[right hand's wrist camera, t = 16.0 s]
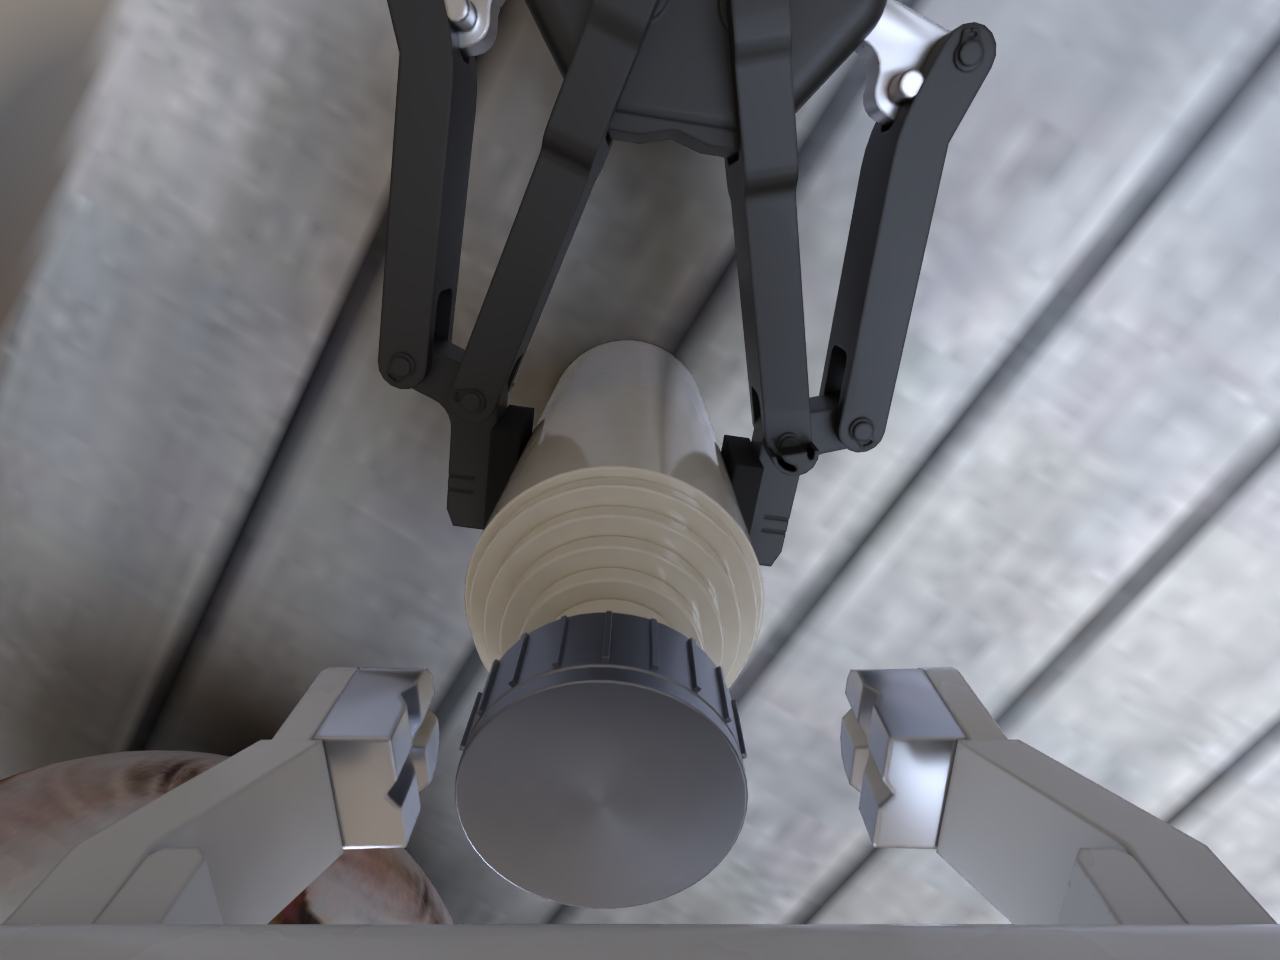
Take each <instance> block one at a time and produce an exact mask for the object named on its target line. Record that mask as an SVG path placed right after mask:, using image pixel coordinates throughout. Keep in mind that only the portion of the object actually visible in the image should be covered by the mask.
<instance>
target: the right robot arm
mask: <svg viewBox="0 0 1280 960" xmlns="http://www.w3.org/2000/svg"><path fill="white" fill-rule="evenodd" d="M434 694H435V691H434V685H433V678H432V674H431V673H430V671H429V670H428V669H412V668H365V667H363V668H358V667H329V668H327V669H324V670H322V671H321V672H320V673H319V674H318V676H317V677H316V679H315V680H314V681H313V683H312V684H311V686H310V687H309V688H308V690H307V691H306V693H305V694H304V695H303V697H302V698H301V700H300V701H299V702H298V704H297V705H296V706H295V708H294V709H293V711H292V712H291V713H290V715H289V716H288V718H287V719H286V720H285V722H284V723H283V725H282V726H281V727H280V729H279V730H278V731H277V733H276V734H275V736H274V737H273V738H272V740H260V741H258V742H256V743H254V744H253V745H251V746H249V747H247V748H245V749H244V750H242V751H240V752H238V753H237V754H235V755H233V756H231V757H229V758H228V759H226V760H224V761H222V762H221V763H219V764H217V765H215V766H213V767H212V768H210V769H208V770H206V771H205V772H203V773H201V774H199V775H197V776H196V777H194V778H192V779H190V780H189V781H187V782H185V783H183V784H182V785H180V786H178V787H176V788H174V789H173V790H171V791H169V792H167V793H166V794H164V795H162V796H160V797H158V798H157V799H155V800H153V801H151V802H150V803H148V804H146V805H144V806H142V807H141V808H139V809H137V810H135V811H134V812H132V813H130V814H128V815H126V816H125V817H123V818H121V819H119V820H118V821H116V822H114V823H112V824H110V825H109V826H107V827H105V828H103V829H102V830H100V831H98V832H96V833H94V834H93V835H91V836H89V837H87V838H86V839H84V840H82V841H80V842H78V843H77V844H75V845H74V846H73V847H72V848H71V849H70V850H69V852H68V853H67V854H66V855H65V856H64V857H63V858H62V859H61V860H60V861H59V863H58V864H57V865H56V866H55V867H54V868H53V869H52V870H51V871H50V872H49V873H48V875H47V876H46V877H45V878H44V879H43V880H42V881H41V882H40V883H39V884H38V886H37V887H36V888H35V889H34V890H33V891H32V892H31V893H30V894H29V895H28V896H27V898H26V899H25V900H24V901H23V902H22V903H21V904H20V905H19V906H18V907H17V909H16V910H15V911H14V912H13V913H12V914H11V915H10V916H9V917H8V918H7V919H6V921H5V922H4V923H3V924H0V960H1280V924H1277V923H1276V922H1275V921H1274V919H1273V918H1272V917H1271V916H1270V915H1269V914H1268V913H1267V912H1266V911H1265V910H1264V908H1263V907H1262V906H1261V905H1260V904H1259V903H1258V902H1257V901H1256V900H1255V898H1254V897H1253V896H1252V895H1251V894H1250V893H1249V892H1248V891H1247V890H1246V889H1245V887H1244V886H1243V885H1242V884H1241V883H1240V882H1239V881H1238V880H1237V879H1236V878H1235V876H1234V875H1233V874H1232V873H1231V872H1230V871H1229V870H1228V869H1227V868H1226V867H1225V865H1224V864H1223V863H1222V862H1221V861H1220V860H1219V859H1218V858H1217V857H1216V856H1215V854H1214V853H1213V852H1212V851H1211V850H1210V849H1209V848H1208V847H1207V846H1206V845H1204V844H1203V843H1201V842H1199V841H1197V840H1196V839H1194V838H1192V837H1190V836H1189V835H1187V834H1185V833H1183V832H1181V831H1180V830H1178V829H1176V828H1174V827H1173V826H1171V825H1169V824H1167V823H1166V822H1164V821H1162V820H1160V819H1158V818H1157V817H1155V816H1153V815H1151V814H1150V813H1148V812H1146V811H1144V810H1143V809H1141V808H1139V807H1137V806H1135V805H1134V804H1132V803H1130V802H1128V801H1127V800H1125V799H1123V798H1121V797H1119V796H1118V795H1116V794H1114V793H1112V792H1111V791H1109V790H1107V789H1105V788H1104V787H1102V786H1100V785H1098V784H1096V783H1095V782H1093V781H1091V780H1089V779H1088V778H1086V777H1084V776H1082V775H1081V774H1079V773H1077V772H1075V771H1073V770H1072V769H1070V768H1068V767H1066V766H1065V765H1063V764H1061V763H1059V762H1058V761H1056V760H1054V759H1052V758H1050V757H1049V756H1047V755H1045V754H1043V753H1042V752H1040V751H1038V750H1036V749H1035V748H1033V747H1031V746H1029V745H1027V744H1026V743H1024V742H1022V741H1020V740H1008V738H1007V737H1006V736H1005V734H1004V733H1003V732H1002V730H1001V729H1000V727H999V726H998V725H997V723H996V722H995V721H994V719H993V718H992V716H991V715H990V714H989V712H988V711H987V710H986V708H985V707H984V705H983V704H982V703H981V701H980V700H979V698H978V697H977V696H976V694H975V693H974V692H973V690H972V689H971V687H970V686H969V685H968V683H967V682H966V681H965V679H964V678H963V676H962V675H961V674H960V672H959V671H958V670H956V669H955V668H953V667H932V668H918V669H864V670H850V672H849V675H848V678H847V683H846V691H845V694H846V696H847V698H848V701H849V703H850V706H851V709H850V710H849V711H848V712H847V714H846V715H845V716H844V717H843V718H842V726H841V752H842V759H843V764H844V768H845V772H846V775H847V778H848V780H849V783H850V785H852V786H853V787H854V788H855V789H857V790H858V791H859V792H860V793H861V796H860V804H859V810H860V813H861V815H862V818H863V820H864V823H865V826H866V828H867V831H868V834H869V836H870V839H871V841H872V844H873V847H881V848H916V849H937V851H936V852H937V853H938V854H939V855H940V856H941V857H942V858H943V859H944V860H945V861H946V862H947V863H948V864H950V865H951V866H952V867H953V868H954V869H955V870H956V871H957V872H958V873H959V874H960V875H961V876H962V877H963V878H964V879H965V880H967V881H968V882H969V883H970V884H971V885H972V886H973V887H974V888H975V889H976V890H977V891H978V892H979V893H980V894H981V895H983V896H984V897H985V898H986V899H987V900H988V901H989V902H990V903H991V904H992V905H993V906H994V907H995V908H996V909H997V910H998V911H1000V912H1001V913H1002V914H1003V915H1004V916H1005V917H1006V918H1007V919H1008V920H1009V921H1010V922H1011V923H1012V924H268V923H269V922H270V921H271V920H272V919H273V918H274V917H275V916H276V915H277V914H279V913H280V912H281V911H282V910H283V909H284V908H285V907H286V906H287V905H288V904H289V903H290V902H291V901H292V900H294V899H295V898H296V897H297V896H298V895H299V894H300V893H301V892H302V891H303V890H304V889H305V888H306V887H307V886H308V885H310V884H311V883H312V882H313V881H314V880H315V879H316V878H317V877H318V876H319V875H320V874H321V873H322V872H323V871H324V870H326V869H327V868H328V867H329V866H330V865H331V864H332V863H333V862H334V861H335V860H336V859H337V858H338V857H339V856H340V855H342V854H343V849H364V848H398V847H407V844H408V842H409V839H410V836H411V834H412V831H413V828H414V826H415V823H416V821H417V818H418V815H419V813H420V810H421V804H420V796H419V793H420V792H421V791H422V790H423V789H425V788H426V787H427V786H428V785H430V783H431V780H432V778H433V775H434V772H435V769H436V764H437V758H438V752H439V724H438V718H437V717H436V716H435V715H434V714H433V712H432V711H431V710H430V709H429V706H430V703H431V701H432V698H433V696H434Z"/></svg>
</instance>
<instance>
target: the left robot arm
mask: <svg viewBox="0 0 1280 960" xmlns="http://www.w3.org/2000/svg"><path fill="white" fill-rule="evenodd" d="M505 1H506V0H387V2H388V6H389V11H390V15H391V19H392V23H393V28H394V32H395V36H396V40H397V44H398V49H399V53H400V54H399V69H398V83H397V97H396V112H395V126H394V140H393V154H392V169H391V183H390V197H389V212H388V226H387V240H386V254H385V269H384V283H383V297H382V311H381V326H380V340H379V354H378V365H379V371H380V373H381V375H382V376H383V378H384V379H385V380H386V381H387V382H388V383H389V384H390V385H392V386H394V387H397V388H399V389H410V388H412V389H414V390H416V391H418V392H420V393H422V394H424V395H426V396H428V397H430V398H432V399H434V400H435V401H437V402H439V403H440V404H441V405H442V406H443V407H444V408H445V410H446V412H447V413H448V415H449V418H450V421H451V441H450V460H449V478H448V496H447V510H448V513H449V516H450V518H451V521H452V524H453V526H461V527H468V528H476V529H483V530H484V528H485V526H486V524H487V522H488V520H489V518H490V516H491V514H492V512H493V510H494V508H495V506H496V504H497V502H498V500H499V498H500V496H501V494H502V492H503V490H504V488H505V486H506V484H507V482H508V480H509V478H510V476H511V474H512V472H513V470H514V468H515V466H516V464H517V462H518V460H519V458H520V456H521V454H522V453H523V451H524V449H525V447H526V445H527V443H528V441H529V439H530V437H531V435H532V428H533V418H534V408H529V407H522V406H515V405H508V407H507V397H508V392H509V391H510V390H511V388H512V387H513V385H514V383H513V381H514V379H515V376H516V374H517V372H518V369H519V367H520V364H521V362H522V359H523V357H524V354H525V352H526V350H527V347H528V345H529V342H530V340H531V337H532V335H533V332H534V330H535V327H536V325H537V323H538V320H539V318H540V315H541V313H542V310H543V308H544V305H545V303H546V301H547V298H548V296H549V293H550V291H551V288H552V286H553V283H554V281H555V279H556V276H557V274H558V271H559V269H560V266H561V264H562V261H563V259H564V256H565V254H566V252H567V249H568V247H569V244H570V242H571V239H572V237H573V234H574V232H575V230H576V227H577V225H578V222H579V220H580V217H581V215H582V212H583V210H584V208H585V205H586V203H587V200H588V198H589V195H590V193H591V190H592V188H593V186H594V183H595V181H596V179H597V177H598V175H599V173H600V171H601V169H602V167H603V165H604V162H605V160H606V157H607V155H608V153H609V150H610V148H611V145H612V143H613V140H620V141H626V142H633V143H639V144H640V143H648V142H656V141H663V140H673V141H676V142H678V143H680V144H682V145H684V146H686V147H688V148H690V149H692V150H695V151H697V152H699V153H701V154H708V155H714V156H720V157H724V158H725V168H726V178H727V186H728V192H729V196H730V199H731V206H732V216H733V226H734V237H735V247H736V257H737V268H738V278H739V288H740V299H741V309H742V319H743V329H744V340H745V350H746V360H747V371H748V381H749V391H750V402H751V412H752V422H753V426H754V432H753V436H752V441H750V439H749V438H744V437H736V436H729V435H724V440H723V445H722V450H721V454H722V457H723V460H724V463H725V466H726V469H727V472H728V475H729V478H730V481H731V484H732V487H733V489H734V492H735V495H736V498H737V501H738V504H739V507H740V510H741V513H742V516H743V519H744V522H745V524H746V527H747V530H748V533H749V536H750V539H751V542H752V545H753V548H754V551H755V554H756V556H757V559H758V562H759V565H764V566H771V565H772V564H773V563H774V561H775V560H776V558H777V557H778V556H779V554H780V553H781V551H782V547H783V542H784V538H785V532H786V530H787V526H788V519H789V517H790V513H791V509H792V505H793V500H794V496H795V492H796V488H797V483H798V479H799V475H801V474H805V473H807V472H808V471H809V470H810V469H812V468H813V467H814V465H815V463H816V462H817V460H818V455H819V454H823V453H827V452H832V451H837V450H842V449H849V450H851V451H854V452H866V451H868V450H870V449H872V448H874V447H875V446H876V445H877V444H878V443H879V442H880V441H881V440H882V437H883V435H884V433H885V428H886V424H887V419H888V415H889V410H890V406H891V401H892V397H893V392H894V388H895V383H896V379H897V374H898V370H899V365H900V361H901V356H902V352H903V347H904V342H905V338H906V333H907V329H908V324H909V320H910V315H911V311H912V306H913V302H914V297H915V293H916V288H917V284H918V279H919V275H920V270H921V266H922V261H923V257H924V252H925V248H926V243H927V238H928V234H929V229H930V225H931V220H932V216H933V211H934V207H935V202H936V198H937V193H938V189H939V184H940V180H941V175H942V171H943V166H944V162H945V157H946V153H947V148H948V144H949V142H950V140H951V138H952V136H953V135H954V133H955V131H956V129H957V128H958V126H959V124H960V122H961V120H962V119H963V117H964V115H965V113H966V112H967V110H968V108H969V106H970V105H971V103H972V101H973V99H974V97H975V96H976V94H977V92H978V90H979V89H980V87H981V85H982V83H983V82H984V80H985V78H986V76H987V74H988V73H989V71H990V69H991V67H992V65H993V62H994V59H995V56H996V42H995V39H994V36H993V34H992V32H991V31H990V30H989V29H988V28H987V27H986V26H985V25H982V24H979V23H975V22H973V23H967V24H963V25H961V26H959V27H958V28H956V29H954V30H953V31H948V30H946V29H944V28H943V27H941V26H939V25H938V24H936V23H934V22H933V21H931V20H929V19H927V18H926V17H924V16H922V15H921V14H919V13H917V12H916V11H914V10H912V9H911V8H909V7H907V6H905V5H904V4H902V3H900V2H899V1H897V0H525V2H526V4H527V6H528V8H529V10H530V12H531V14H532V16H533V18H534V20H535V22H536V24H537V26H538V28H539V30H540V32H541V34H542V36H543V38H544V40H545V42H546V44H547V46H548V48H549V50H550V52H551V54H552V56H553V58H554V60H555V62H556V64H557V66H558V68H559V70H560V72H561V75H562V77H563V79H564V81H563V84H562V86H561V89H560V92H559V94H558V97H557V100H556V102H555V105H554V107H553V110H552V113H551V115H550V118H549V121H548V124H547V126H546V129H545V133H544V137H543V142H542V148H541V151H540V154H539V157H538V160H537V163H536V165H535V168H534V170H533V173H532V176H531V178H530V181H529V184H528V186H527V189H526V192H525V194H524V197H523V199H522V202H521V205H520V207H519V210H518V213H517V215H516V218H515V221H514V223H513V226H512V229H511V231H510V234H509V236H508V239H507V242H506V244H505V247H504V250H503V252H502V255H501V258H500V260H499V263H498V266H497V268H496V271H495V273H494V276H493V279H492V281H491V284H490V287H489V289H488V292H487V295H486V297H485V300H484V302H483V305H482V308H481V310H480V313H479V316H478V318H477V321H476V324H475V326H474V329H473V332H472V334H471V337H470V339H469V342H468V345H467V347H466V350H464V349H462V348H460V347H458V346H456V345H454V344H452V343H451V340H452V330H453V321H454V311H455V302H456V292H457V283H458V273H459V264H460V254H461V245H462V235H463V226H464V216H465V207H466V197H467V188H468V178H469V169H470V159H471V150H472V140H473V131H474V121H475V112H476V97H477V76H476V62H475V56H476V55H480V54H483V53H485V52H486V51H488V50H489V49H490V48H491V47H492V45H493V44H494V42H495V39H496V36H497V27H498V15H499V12H500V8H501V7H502V5H503V4H504V2H505ZM853 51H856V52H857V53H858V54H859V55H860V56H861V57H862V59H863V60H864V62H865V65H866V68H867V81H866V85H865V90H864V94H863V104H864V108H865V111H866V112H867V114H868V115H869V117H871V118H872V119H873V120H874V121H876V123H875V125H874V128H873V130H872V132H871V135H870V138H869V141H868V144H867V147H866V149H865V154H864V158H863V162H862V166H861V171H860V176H859V182H858V187H857V193H856V198H855V203H854V209H853V214H852V220H851V225H850V231H849V236H848V241H847V247H846V252H845V258H844V263H843V269H842V274H841V279H840V285H839V290H838V296H837V301H836V307H835V312H834V317H833V323H832V328H831V334H830V339H829V345H828V350H827V355H826V361H825V366H824V372H823V377H822V383H821V388H820V393H819V396H816V397H811V398H809V386H808V372H807V357H806V342H805V327H804V312H803V297H802V282H801V267H800V252H799V237H798V223H797V208H796V185H797V180H798V151H797V136H796V121H795V113H796V112H797V111H798V110H799V109H800V108H801V107H802V106H803V105H804V104H805V103H806V102H807V101H808V100H809V98H810V97H811V96H812V95H813V94H814V93H815V92H816V91H817V90H818V89H819V88H820V87H821V86H822V85H823V84H824V82H825V81H826V80H827V79H828V78H829V77H830V76H831V75H832V74H833V73H834V72H835V71H836V70H837V69H838V67H839V66H840V65H841V64H842V63H843V62H844V61H845V60H846V59H847V58H848V57H849V56H850V55H851V54H852V53H853Z"/></svg>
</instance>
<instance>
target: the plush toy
mask: <svg viewBox="0 0 1280 960" xmlns="http://www.w3.org/2000/svg"><path fill="white" fill-rule="evenodd" d="M229 757H230V756H224V755H219V754H211V753H202V752H193V751H166V750H151V751H123V752H116V753H109V754H102V755H95V756H89V757H84V758H78V759H73V760H68V761H63V762H58V763H54V764H50V765H47V766H43V767H39V768H36V769H32V770H29V771H25V772H22V773H19V774H16V775H14V776H11V777H8V778H6V779H3V780H0V924H3V923H4V922H5V921H6V919H7V918H8V917H9V916H10V915H11V914H12V913H13V912H14V911H15V910H16V909H17V907H18V906H19V905H20V904H21V903H22V902H23V901H24V900H25V899H26V898H27V896H28V895H29V894H30V893H31V892H32V891H33V890H34V889H35V888H36V887H37V886H38V884H39V883H40V882H41V881H42V880H43V879H44V878H45V877H46V876H47V875H48V873H49V872H50V871H51V870H52V869H53V868H54V867H55V866H56V865H57V864H58V863H59V861H60V860H61V859H62V858H63V857H64V856H65V855H66V854H67V853H68V852H69V850H70V849H71V848H72V847H73V846H74V845H75V844H77V843H78V842H80V841H82V840H84V839H86V838H87V837H89V836H91V835H93V834H94V833H96V832H98V831H100V830H102V829H103V828H105V827H107V826H109V825H110V824H112V823H114V822H116V821H118V820H119V819H121V818H123V817H125V816H126V815H128V814H130V813H132V812H134V811H135V810H137V809H139V808H141V807H142V806H144V805H146V804H148V803H150V802H151V801H153V800H155V799H157V798H158V797H160V796H162V795H164V794H166V793H167V792H169V791H171V790H173V789H174V788H176V787H178V786H180V785H182V784H183V783H185V782H187V781H189V780H190V779H192V778H194V777H196V776H197V775H199V774H201V773H203V772H205V771H206V770H208V769H210V768H212V767H213V766H215V765H217V764H219V763H221V762H222V761H224V760H226V759H228V758H229ZM268 924H454V923H453V921H452V919H451V916H450V914H449V912H448V910H447V908H446V906H445V905H444V903H443V901H442V899H441V898H440V896H439V894H438V892H437V891H436V889H435V888H434V886H433V885H432V883H431V882H430V880H429V879H428V877H427V876H426V874H425V873H424V872H423V870H422V869H421V867H420V866H419V865H418V864H417V863H416V862H415V860H414V859H413V858H412V857H411V856H410V855H409V853H408V852H407V851H406V850H405V849H404V848H403V847H398V848H364V849H343V854H342V855H340V856H339V857H338V858H337V859H336V860H335V861H334V862H333V863H332V864H331V865H330V866H329V867H328V868H327V869H326V870H324V871H323V872H322V873H321V874H320V875H319V876H318V877H317V878H316V879H315V880H314V881H313V882H312V883H311V884H310V885H308V886H307V887H306V888H305V889H304V890H303V891H302V892H301V893H300V894H299V895H298V896H297V897H296V898H295V899H294V900H292V901H291V902H290V903H289V904H288V905H287V906H286V907H285V908H284V909H283V910H282V911H281V912H280V913H279V914H277V915H276V916H275V917H274V918H273V919H272V920H271V921H270V922H269V923H268Z"/></svg>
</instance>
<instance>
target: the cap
mask: <svg viewBox="0 0 1280 960" xmlns="http://www.w3.org/2000/svg"><path fill="white" fill-rule="evenodd" d="M459 750H462V751H463V753H462V756H461V759H460V762H459V766H458V770H457V775H456V782H455V800H456V808H457V812H458V816H459V820H460V823H461V826H462V828H463V830H464V832H465V834H466V837H467V839H468V840H469V842H470V843H471V845H472V846H473V848H474V849H475V851H476V852H477V853H478V854H479V856H480V857H481V858H482V859H483V860H484V861H485V863H487V864H488V865H489V866H490V867H491V868H492V869H493V870H494V871H495V872H496V873H498V874H499V875H500V876H502V877H503V878H505V879H506V880H507V881H509V882H510V883H512V884H514V885H516V886H517V887H519V888H521V889H523V890H525V891H527V892H529V893H531V894H534V895H536V896H538V897H541V898H544V899H547V900H550V901H554V902H557V903H561V904H566V905H571V906H576V907H585V908H607V909H612V908H623V907H632V906H637V905H643V904H647V903H651V902H654V901H658V900H661V899H664V898H667V897H669V896H671V895H674V894H676V893H679V892H681V891H682V890H684V889H686V888H688V887H690V886H692V885H694V884H695V883H696V882H698V881H699V880H701V879H702V878H703V877H705V876H706V875H708V874H709V873H710V872H711V871H712V870H713V869H714V868H715V867H716V866H717V865H719V863H720V862H721V861H722V860H723V859H724V857H725V856H726V855H727V854H728V853H729V851H730V850H731V848H732V846H733V845H734V843H735V842H736V840H737V838H738V835H739V833H740V831H741V828H742V826H743V823H744V819H745V815H746V811H747V800H748V791H747V780H746V774H745V769H744V765H743V759H745V758H747V755H746V749H745V744H744V739H743V734H742V729H741V724H740V719H739V714H738V709H737V704H736V700H731V697H730V693H729V690H728V687H727V685H726V683H725V679H724V674H723V669H722V668H721V666H718V667H717V666H716V665H715V663H714V662H713V661H712V660H711V659H710V658H709V656H708V655H707V654H706V653H705V652H704V651H703V650H702V649H701V648H700V647H699V646H697V645H696V641H695V639H693V638H692V637H691V638H690V639H689V638H687V637H686V636H684V635H683V634H681V633H680V632H678V631H676V630H674V629H672V628H670V627H668V626H666V625H664V624H662V623H659V622H657V619H654V618H651V619H648V618H644V617H640V616H636V615H631V614H623V613H615V612H612V611H606V612H596V613H586V614H578V615H574V616H570V617H567V615H565V616H561V619H559V620H556V621H553V622H550V623H548V624H546V625H544V626H542V627H540V628H538V629H536V630H534V631H532V632H530V633H529V634H527V633H526V632H525V633H524V634H522V635H521V639H520V640H519V641H518V642H516V643H515V644H514V645H513V646H512V647H511V648H510V649H509V650H507V651H506V653H505V654H504V655H503V656H502V657H501V659H500V660H497V659H495V660H494V662H493V663H492V666H491V669H490V672H489V675H488V678H487V681H486V684H485V687H484V690H483V693H480V692H478V695H477V698H476V701H475V704H474V707H473V710H472V712H471V715H470V718H469V721H468V724H467V727H466V730H465V733H464V736H463V739H462V742H461V745H460V748H459Z"/></svg>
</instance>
